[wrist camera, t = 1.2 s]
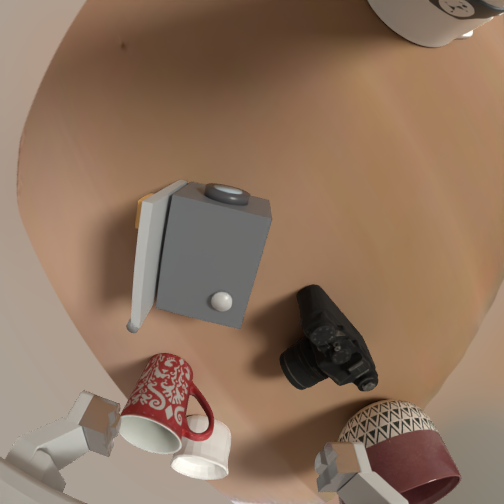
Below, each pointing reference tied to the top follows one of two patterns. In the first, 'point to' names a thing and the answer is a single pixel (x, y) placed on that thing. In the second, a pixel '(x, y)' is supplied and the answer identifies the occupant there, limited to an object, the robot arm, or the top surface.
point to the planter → (404, 450)
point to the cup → (204, 451)
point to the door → (149, 251)
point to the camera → (327, 346)
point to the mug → (163, 407)
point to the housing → (212, 252)
